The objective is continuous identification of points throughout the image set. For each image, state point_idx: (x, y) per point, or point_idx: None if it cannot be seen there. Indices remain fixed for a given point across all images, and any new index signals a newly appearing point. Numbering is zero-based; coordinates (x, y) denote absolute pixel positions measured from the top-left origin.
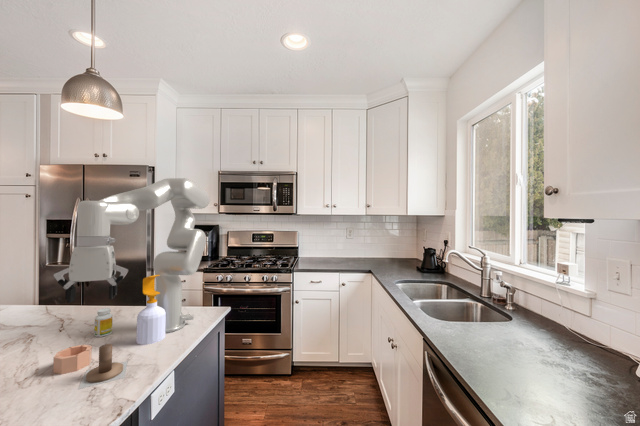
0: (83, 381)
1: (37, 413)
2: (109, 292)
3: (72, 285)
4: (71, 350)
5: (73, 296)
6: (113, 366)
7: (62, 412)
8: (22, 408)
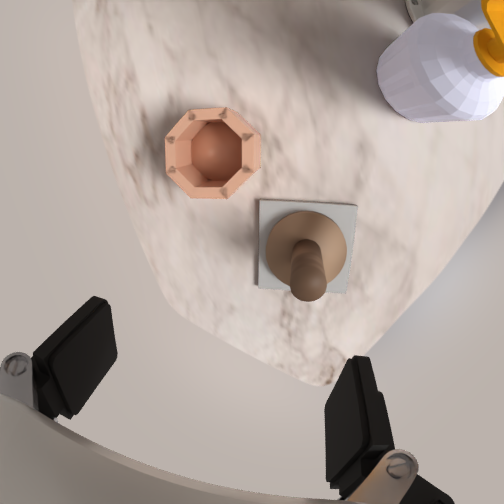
0: (263, 260)
1: (209, 318)
2: (328, 446)
3: (44, 399)
4: (198, 120)
5: (97, 344)
6: (324, 242)
7: (248, 338)
8: (179, 288)
